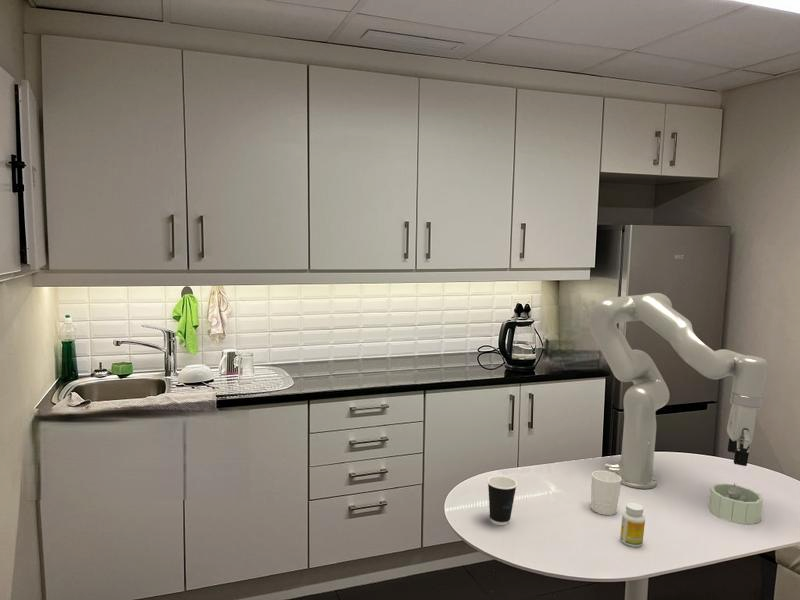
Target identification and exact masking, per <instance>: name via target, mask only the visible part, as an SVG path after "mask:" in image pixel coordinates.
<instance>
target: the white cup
mask: <svg viewBox="0 0 800 600" xmlns="http://www.w3.org/2000/svg"><path fill="white" fill-rule="evenodd" d="M621 485H622V483H621V477H620V476H619V475H617V474H615V472H610V471H609V470H608V471H606V470H595V471H593V472H592V473H591V484H590V486H591V490H590V491H591V492H590V497H591V498H590V499H591V503H590V504H591V505H590V507H591V510H592V511H593V512H594V511H595V513H596V512H597V514H599V515H602V514H603V516H613V514H614V515H615V514H616V513H617V511H618V504H619V499H620V494H621V492H620V491H621Z"/></svg>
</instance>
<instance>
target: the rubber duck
mask: <svg viewBox="0 0 800 600" xmlns="http://www.w3.org/2000/svg"><path fill="white" fill-rule="evenodd" d="M732 485H733V486H732V487H731V488H730V489H729V490H728V495H726V497H727V498H729V499H732V500H737V501H743V502H745V501H746V497H744V496H741V491H740V489H739V488H738V487H737V488H736V485H737V484H736V483H735V482H734V484H732Z"/></svg>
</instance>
